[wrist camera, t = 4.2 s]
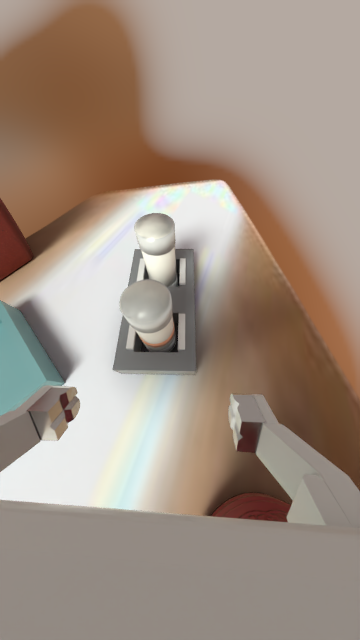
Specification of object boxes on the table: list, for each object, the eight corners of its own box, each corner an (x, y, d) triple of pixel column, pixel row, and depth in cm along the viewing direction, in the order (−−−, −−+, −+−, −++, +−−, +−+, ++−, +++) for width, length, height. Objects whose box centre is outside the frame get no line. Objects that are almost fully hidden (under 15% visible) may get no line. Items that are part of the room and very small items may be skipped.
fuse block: (194, 374, 20) (196, 370, 17) (121, 373, 21) (111, 369, 18) (192, 263, 28) (193, 247, 25) (139, 263, 28) (134, 247, 25)
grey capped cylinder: (182, 339, 22) (182, 300, 13) (158, 361, 21) (141, 334, 12) (161, 319, 24) (148, 271, 15) (138, 339, 23) (109, 299, 14)
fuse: (183, 285, 26) (182, 225, 17) (163, 301, 25) (151, 246, 16) (165, 270, 28) (156, 208, 19) (145, 285, 26) (126, 226, 17)
